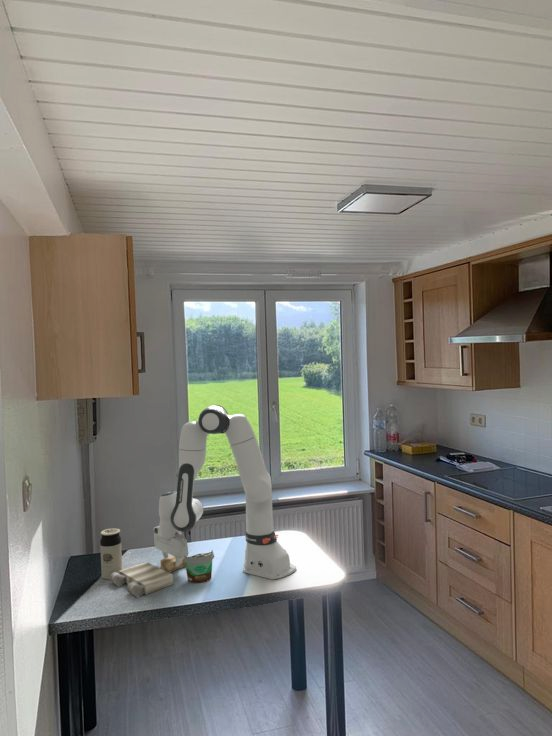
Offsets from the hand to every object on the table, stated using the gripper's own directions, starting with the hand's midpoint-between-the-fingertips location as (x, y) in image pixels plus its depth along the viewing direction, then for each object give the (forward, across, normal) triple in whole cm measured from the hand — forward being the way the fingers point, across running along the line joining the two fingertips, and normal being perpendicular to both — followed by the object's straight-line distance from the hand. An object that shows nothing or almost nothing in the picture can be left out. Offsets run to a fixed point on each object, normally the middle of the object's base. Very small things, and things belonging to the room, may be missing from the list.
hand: (171, 563), depth 212 cm
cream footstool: (+2, -4, +17) cm, 17 cm away
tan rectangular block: (+2, 0, -2) cm, 2 cm away
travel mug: (+2, +12, +20) cm, 24 cm away
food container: (+2, -20, 0) cm, 20 cm away
